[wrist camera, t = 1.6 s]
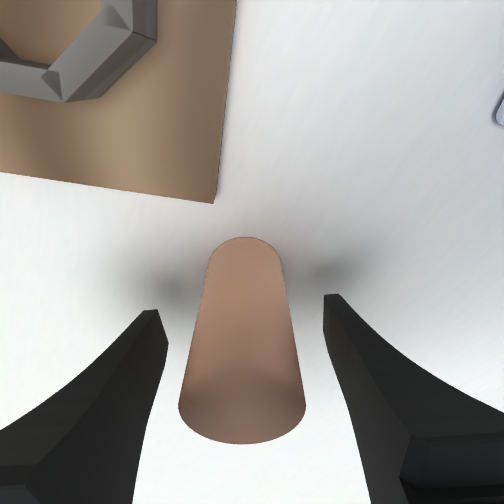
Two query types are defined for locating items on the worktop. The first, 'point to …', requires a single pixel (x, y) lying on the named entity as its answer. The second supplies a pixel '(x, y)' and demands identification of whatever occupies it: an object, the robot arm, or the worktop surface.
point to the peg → (243, 350)
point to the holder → (116, 92)
